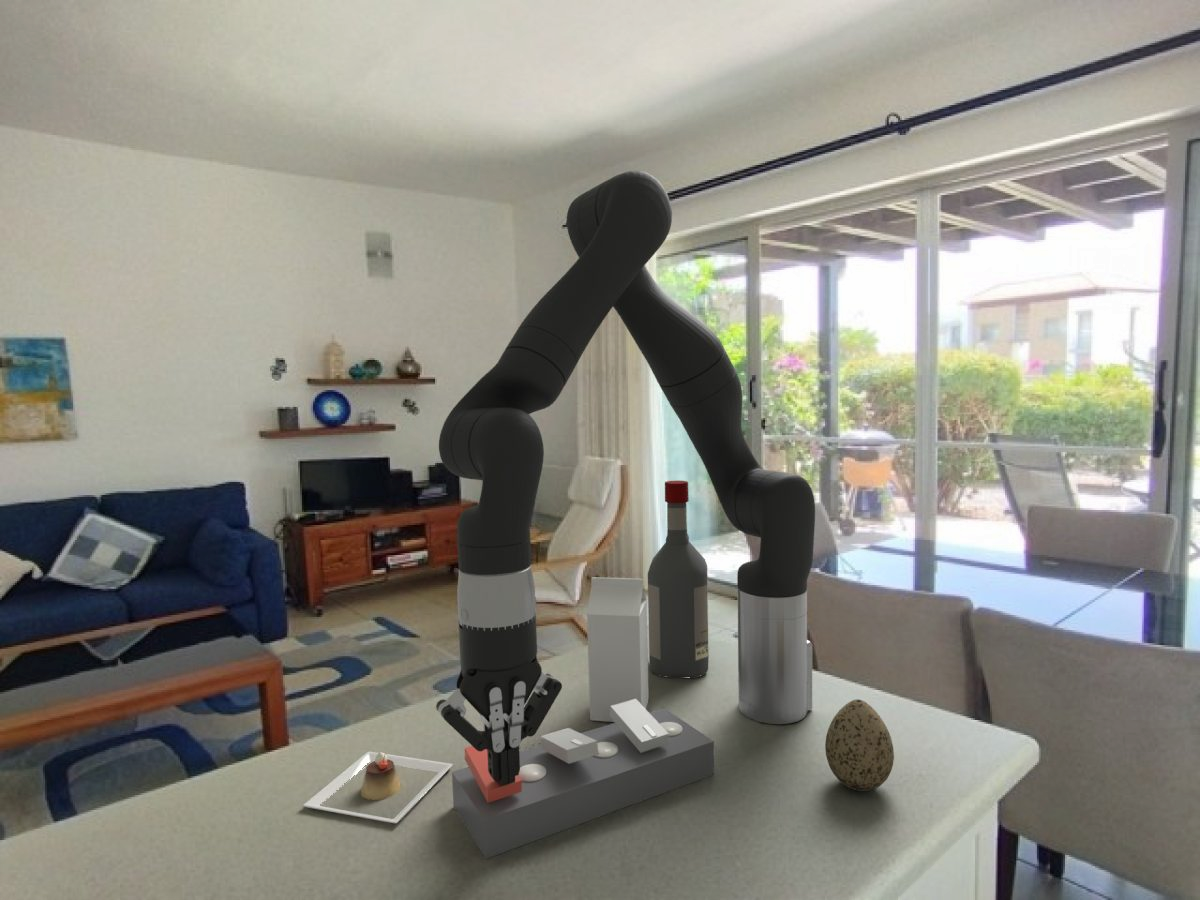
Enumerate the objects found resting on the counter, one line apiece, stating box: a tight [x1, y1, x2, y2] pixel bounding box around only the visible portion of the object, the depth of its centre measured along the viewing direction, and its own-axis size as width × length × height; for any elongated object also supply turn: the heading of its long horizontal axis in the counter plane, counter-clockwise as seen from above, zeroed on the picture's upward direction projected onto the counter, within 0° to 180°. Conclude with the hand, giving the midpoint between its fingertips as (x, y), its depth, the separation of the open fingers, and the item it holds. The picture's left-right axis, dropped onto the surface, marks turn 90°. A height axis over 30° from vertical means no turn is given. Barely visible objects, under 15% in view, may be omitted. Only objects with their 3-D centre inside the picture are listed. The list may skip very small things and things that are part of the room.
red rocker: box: [464, 745, 522, 803], centre depth 73 cm, size 4×7×2 cm, turn 30°
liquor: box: [647, 480, 710, 679], centre depth 112 cm, size 9×9×30 cm
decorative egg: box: [824, 699, 895, 792], centre depth 78 cm, size 7×7×10 cm
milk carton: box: [586, 576, 650, 723], centre depth 97 cm, size 7×7×19 cm
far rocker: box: [610, 699, 669, 753], centre depth 82 cm, size 4×7×2 cm, turn 30°
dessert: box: [301, 751, 454, 824], centre depth 81 cm, size 12×12×5 cm
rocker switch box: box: [451, 707, 715, 860], centre depth 79 cm, size 28×10×4 cm, turn 120°
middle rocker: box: [539, 727, 599, 764], centre depth 78 cm, size 4×7×2 cm, turn 30°
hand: (504, 780), depth 70 cm, fingers closed
